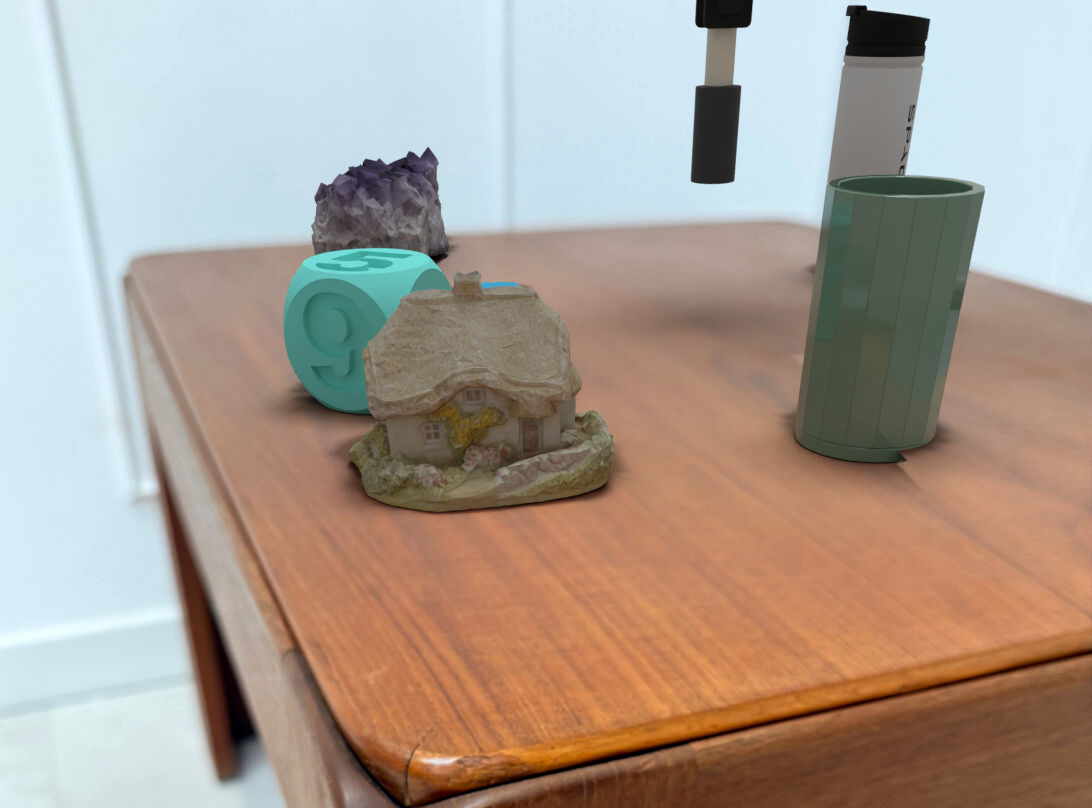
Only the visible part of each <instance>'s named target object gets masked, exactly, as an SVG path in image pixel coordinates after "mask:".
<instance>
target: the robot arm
mask: <svg viewBox="0 0 1092 808" xmlns="http://www.w3.org/2000/svg"><path fill="white" fill-rule="evenodd" d="M753 7H754V0H695V13H694V14H695V16H694V24H695V26H696V27H697V28H699V29H722V28H737V29H747V28H748V27H750V26H751V24H752V21H753V20H752V19H753Z"/></svg>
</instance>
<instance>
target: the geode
mask: <svg viewBox="0 0 1092 808" xmlns="http://www.w3.org/2000/svg"><path fill="white" fill-rule="evenodd" d="M439 165H440V164H439V160H438V158H437V156H436V155H435V154H434V152H433V151H432V149H431V148H430V147H429V146H427V147H426V148H425V150H424V151H423V152H422V154H421V155H420V156H418V154H416V153H415V152H413V151H410V150H408V152H407V154H406V156H404V157H401V158H399V159H396V160H394V161H392V162H389V163H388V164H387V163H385V162H384V161H383V160H382V159H381V158H380V157H378V159H377V160H374V159H369V158H364V160H362V164H361V163H360V164H359V165H357V166H354V165H352V166H348V170H347V171H345V172H344V173H339V174H337V175H336V177H335V178H334V179H333V181H332V182H331V183H329V184H325V183H324V182H320V183H319V185H318V188H317V190H316V193H315V195H314V197H313V198H314V202H315V204H316V206H315V216H314V221H313V223H312V224H311V225H310V227H311V230H312V232H313V233H312V235H311V243H312V246H313V251H314V256H315V255H318V254H322V253H327V252H333V251H340V250H349V249H365V248H389V249H403V250H410V251H416V252H420V253H423V254H426V255H427V256H429V257H437V256H439V255H442V254H443V255H444V254H446V253H448V252H449V249H450V244H449V240H448V237H447V234H446V228H445V222H444V219H443V215H442V203H441V200H440V195H439V188H440V187H439V182H438V179H437V178H438V166H439Z"/></svg>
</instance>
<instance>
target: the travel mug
mask: <svg viewBox="0 0 1092 808" xmlns="http://www.w3.org/2000/svg"><path fill="white" fill-rule="evenodd" d="M845 16H846V17H849V22H848V29H847V35H846V41H847V44H846V45H845V51H844V55H843V60H842V61H843V63H844V65H843V66H842V67H841V73H840V74H841V75H840V81H839V82H840V83H839V88H838V89H839V90H838V97H837V105H836V113H835V119H834V120H835V121H834V127H833V135H832V143H831V150H830V151H831V152H830V158H829V165H828V172H827V180H826V181H827V182H826V185H827V184H828V183H829V181H831V180H835V179H839V178H843V177H852V176H863V175H906V172H907V168H908V167H907V165H908V160H909V155H910V147H911V142H912V135H913V132H914V131H913V130H914V126H915V125H914V124H915V119H916V112H917V107H918V100H919V94H920V88H921V82H922V77H923V72H924V66H923V64H924V62H925V59H926V55H925V54H926V50H927V49H926V48H927V46H926V41H928V38H929V30H930V25H931V18H928V17H924V16H923V17H922V16H917V15H912V14H904V13H897V12H889V11H882V10H881V11H880V10H871V9H868V6H867V5H865V4H864V5H863V4H861V5H860V4H855V5H854V4H849V5H847V7H846V11H845Z"/></svg>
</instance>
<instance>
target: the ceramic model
mask: <svg viewBox="0 0 1092 808" xmlns="http://www.w3.org/2000/svg"><path fill="white" fill-rule="evenodd" d="M452 279H453V289H452V290H451V291H447V290H440V289H431V290H420V291H415V292H412V293H410V294H408V295H406V296H404V297H402V298H401V299H400V302H399V306H398V307H397V308H396V310H395V311H394V313H393V314H392V315H391V316H390V317H389V318H388V320H387V322H386V323H385V325H384V326H383V327H382V329H381V330H380V331H379V332H378V333H377V335H376V336H375V337H374V338H373V339H372V340H370V341H368V343H367V347H366V348H365V349H363V350H362V356H361V358H362V359H363V361H364V370H365V384H366V390H367V395H366V396H367V402H368V409H369V411H370V413H371V414H370V415H372V417H374V418H375V419H377V420H384V421H382V422H381V421H377V422H376V423H375V424H374V425H373V427H372V428H371V429H369V430H367V432H365V433H364V434H363V436H364V437H363V438H362V439H361V440H359V441H357V442H355V443H354V444H353V445H352V447H351V448H350V450H349V453H348V456H347V459H349V460H350V461H351V462H352V463H353V464H354V465H355V466H356V467H357V468H358V470H359V472H360V474H361V478H360V479H361V483H362V485H363V487H364V491H365V493H366V495H367V496H369V497H370V498H372V499H375V500H376V501H379V502H381V503H383V504H387V505H390V506H393V507H401V508H406V509H410V510H419V511H425V512H435V513H442V512H451V511H464V510H465V511H466V510H472V509H475V510H476V509H485V508H497V507H503V506H507V507H508V506H515V505H521V504H528V503H529V504H531V503H536V502H539V503H540V502H546V501H552V500H557V499H561V498H562V499H564V498H568V497H574V496H578V495H581V494H584V493H588V492H590V491H594V490H596V489H599V488H601V487H602V486H603V485H605V484H607V482H608V480H609V475H610V472H611V470H612V463H613V462H614V461H615V460H614V456H615V453H616V449H615V443H614V441H613V439H614V435H613V434H612V433H611V432H609V428H608V425H607V422H606V421H605V419H604V418H603V417H602V415H601V414H600V413H599V411H596V410H594V409H589V410H587V411H586V412H585V414H584V413H583V411H580V412H576V410H577V409H576V406H577V405H576V403H577V401H576V396H577V395H578V394H579V393H580V392H581V390H582V387H583V381H582V377H581V375H580V373H579V372H578V370H577V368H576V367H575V365H574V363H573V361H572V360H571V340H570V339H571V337H570V330H569V327H568V325H567V323H566V322H565V321H564V317H563V316H562V315H561V313H560V312H559V311H555V310H553V309H552V308H551V307H550V306H549V305H548V304H546V302H545V301H543V300H542V299H541V297H540V296H539V293H538V292H537V291H536V290H534V289H533V288H527V287H525V286H521V285H520V286H512V287H511V286H498V287H491V288H487V289H484V288H482V285H481V283H482V282H481V281H482V274H481V273H480V272H479V271H478V269H477V270H474V271H470V272H467V273H462V272H459V271H456V272H455V273H454V275H453V277H452Z"/></svg>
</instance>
